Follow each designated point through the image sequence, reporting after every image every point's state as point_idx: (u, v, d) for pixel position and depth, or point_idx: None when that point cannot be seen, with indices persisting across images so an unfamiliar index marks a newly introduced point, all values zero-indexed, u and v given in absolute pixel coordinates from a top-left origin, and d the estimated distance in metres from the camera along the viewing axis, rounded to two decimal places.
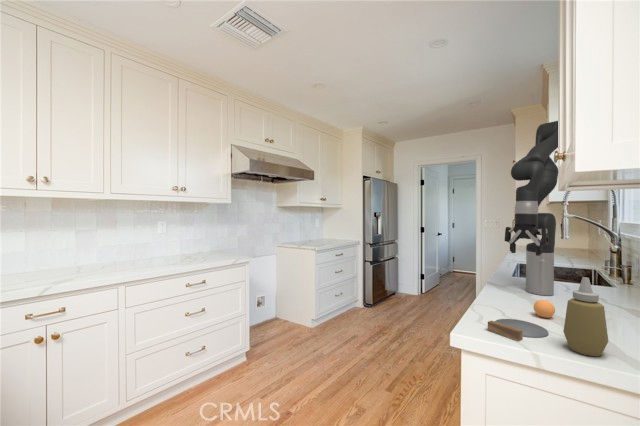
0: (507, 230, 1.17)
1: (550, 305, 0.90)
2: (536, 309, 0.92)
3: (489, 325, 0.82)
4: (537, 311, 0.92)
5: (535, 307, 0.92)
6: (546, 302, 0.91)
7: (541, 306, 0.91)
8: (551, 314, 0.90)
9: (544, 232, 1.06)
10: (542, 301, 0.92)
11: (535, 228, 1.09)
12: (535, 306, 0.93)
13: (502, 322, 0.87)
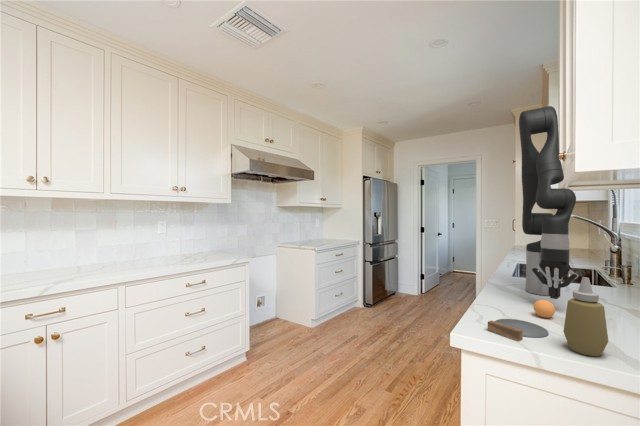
0: (536, 271, 1.01)
1: (550, 305, 0.90)
2: (536, 309, 0.92)
3: (489, 325, 0.82)
4: (537, 311, 0.92)
5: (535, 307, 0.92)
6: (546, 302, 0.91)
7: (541, 306, 0.91)
8: (551, 314, 0.90)
9: (572, 278, 0.92)
10: (542, 301, 0.92)
11: (567, 268, 0.93)
12: (535, 306, 0.93)
13: (502, 322, 0.87)
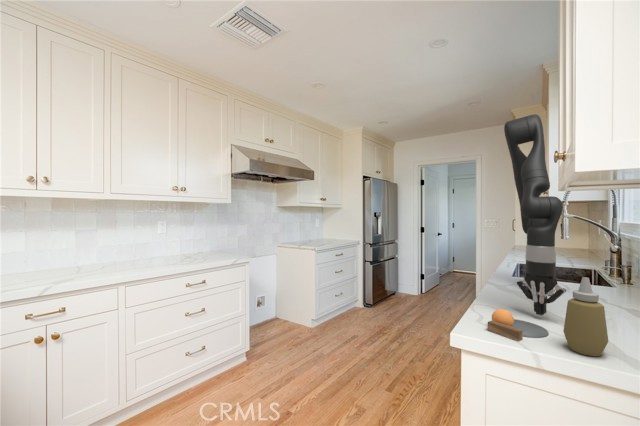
0: (521, 285, 0.94)
1: (505, 321, 0.81)
2: None
3: (489, 325, 0.82)
4: None
5: None
6: (500, 320, 0.81)
7: None
8: (512, 325, 0.82)
9: (559, 294, 0.86)
10: (496, 320, 0.82)
11: (554, 283, 0.87)
12: None
13: None
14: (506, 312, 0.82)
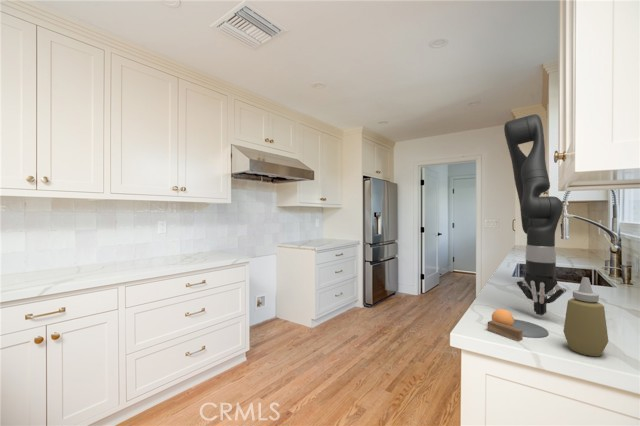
0: (521, 285, 0.94)
1: (505, 321, 0.81)
2: None
3: (489, 325, 0.82)
4: None
5: None
6: (500, 320, 0.81)
7: None
8: (512, 325, 0.82)
9: (559, 294, 0.86)
10: (496, 320, 0.82)
11: (554, 283, 0.87)
12: None
13: None
14: (506, 312, 0.82)
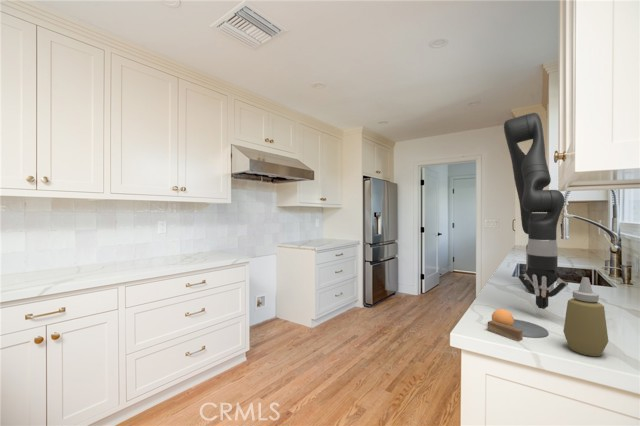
0: (522, 279, 0.94)
1: (505, 321, 0.81)
2: None
3: (489, 325, 0.82)
4: None
5: None
6: (500, 320, 0.81)
7: None
8: (512, 325, 0.82)
9: (561, 287, 0.85)
10: (496, 320, 0.82)
11: (556, 276, 0.87)
12: None
13: None
14: (506, 312, 0.82)
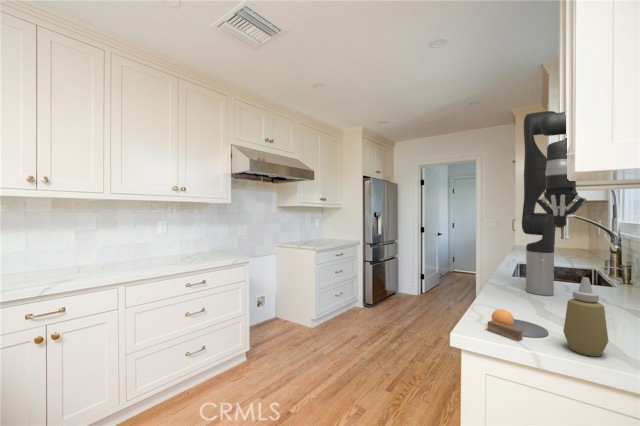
0: (541, 202, 0.97)
1: (505, 321, 0.81)
2: None
3: (489, 325, 0.82)
4: None
5: None
6: (500, 320, 0.81)
7: None
8: (512, 325, 0.82)
9: (580, 202, 0.88)
10: (496, 320, 0.82)
11: (574, 193, 0.89)
12: None
13: None
14: (506, 312, 0.82)
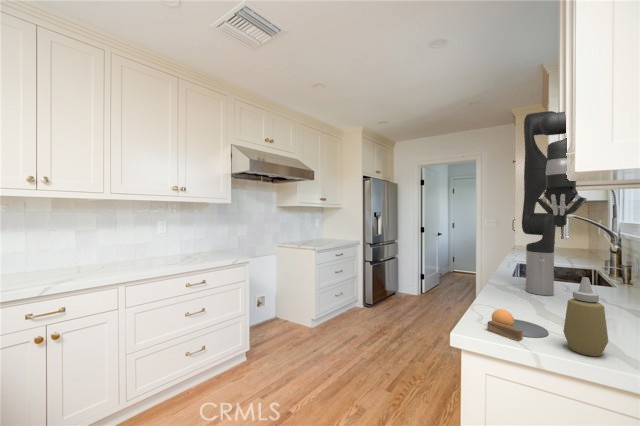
0: (541, 202, 0.97)
1: (505, 321, 0.81)
2: None
3: (489, 325, 0.82)
4: None
5: None
6: (500, 320, 0.81)
7: None
8: (512, 325, 0.82)
9: (580, 202, 0.88)
10: (496, 320, 0.82)
11: (574, 192, 0.90)
12: None
13: None
14: (506, 312, 0.82)
